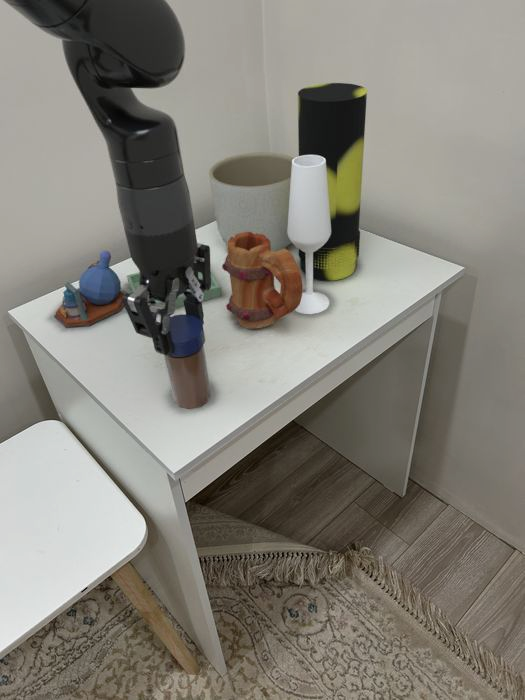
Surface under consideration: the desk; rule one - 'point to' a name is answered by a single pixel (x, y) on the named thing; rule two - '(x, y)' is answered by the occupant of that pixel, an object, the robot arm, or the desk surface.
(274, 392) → the desk surface
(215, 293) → the tray
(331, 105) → the container
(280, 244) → the planter
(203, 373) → the jar
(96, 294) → the model
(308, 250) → the champagne flute
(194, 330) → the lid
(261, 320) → the mug
